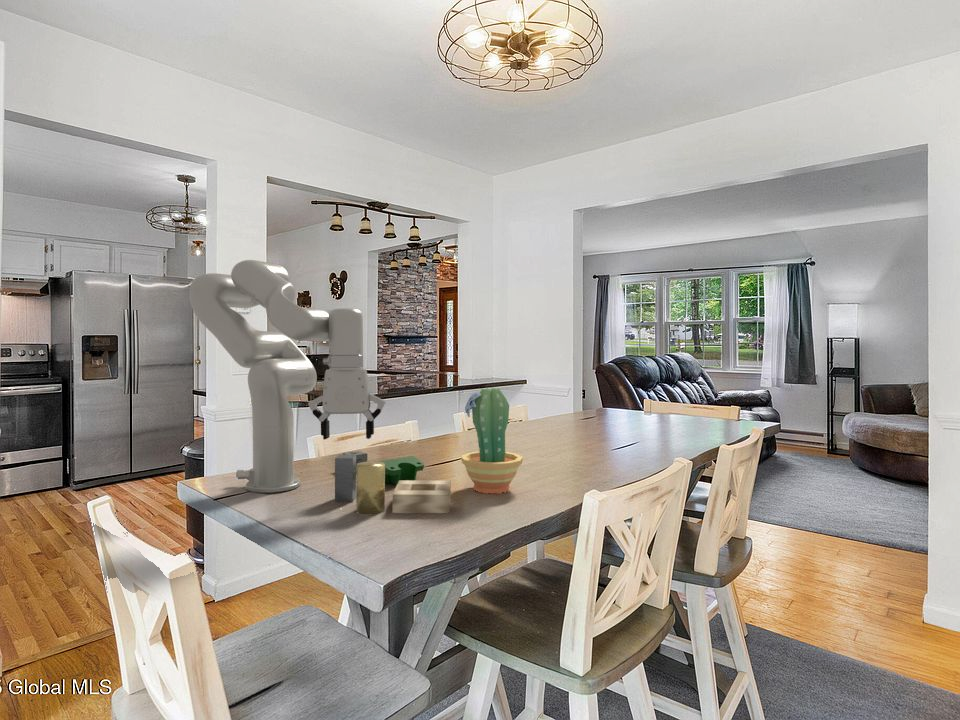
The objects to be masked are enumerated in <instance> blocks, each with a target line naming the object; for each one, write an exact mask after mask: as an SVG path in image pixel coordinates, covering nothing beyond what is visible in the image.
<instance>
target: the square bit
mask: <svg viewBox="0 0 960 720" xmlns="http://www.w3.org/2000/svg"><path fill="white" fill-rule="evenodd" d="M356 486H357V473H356V455H343V454H338V455H336V457H334V503H353V502H354V501H355V500H354V499H356Z"/></svg>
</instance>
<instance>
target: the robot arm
mask: <svg viewBox="0 0 960 720" xmlns="http://www.w3.org/2000/svg"><path fill="white" fill-rule="evenodd" d="M230 272H231V273H230V274H226V273H225V274H224V273H212V272H211V273H203V274H201V275H198V276H196V277H195V278H194V279H193V280H192V281H191V283H190V286H189V292H188V293H189V295H188V296H189V303H190V306H191V308H192V310H193V313H194V315H195V317H196V318H197V319H198V321H199V322H200V323H201V324H202V325H203V326H204V327H205V328H206V329H207V330H208V331H209V333H211V334H212V335H213V336H214V337H215V338H216V339H217V341H218V342H219V344H221V346H222V347H223V348H224V350H225V351H226V352H227V353H228V355H229V356H230V357H231V358H232V359H233V360H234V362H236V364H237V365H239V366H240V367H242V368H245V369H249V371H248V374H247V385H248V386H247V387H248V390H249V394H250V399H251V400H250V401H251V413H252V421H251V422H252V423H251V424H252V468H250V469H249V470H247V469H237V470H236V473H235V477H236V478H237V479H238V480H247V481H248V482H246V484H245V489H246V490H247V491H248V492H252V493H260V494H261V493H262V494H265V493H266V494H268V493H269V494H271V493H281V492H286V491H290V490H294V489H296V488H298V487H299V486H301V480H300V479H299V478H298V477H296V476H294V475H295V474H294V469H295V468H294V460H295V459H294V453H295V451H294V439H295V438H294V437H295V436H294V435H295V434H294V430H295V429H294V428H295V427H294V411H293V409H292V406H291V403H289V400H288V397H291V396H299V395H300V396H301V395H305V394H308V393H309V392H311V391H313V389H314V388H315V386H316V384H317V379H318V375H317V371H316V368H315V366H314V364H313V363H312V362H311V360H310V359H309V358H308V357H307V355H306V354H304V352H302V350H301V349H300V347H298V346H297V345H296V343H295V342H294V341H299V342H328V357H326V358H325V357H324V358H323V359H322V364H323V365H327V366H328V368H329V369H328V368H327V369H326V370H325V372H324V380H323V388H322V394H321V395H320V396H318V397H316V398H314V399H313V400H311V401H309V402H308V403H307V404H308V405H307V406H308V407H309V409H310V410H311V412H312V415H314V417H316V419H317V420H318V421H319V422H320V435H321V436H322V438H323V440H327V439H329V438H330V420H329V417H330V416H331V415H340V414H341V415H345V414H346V415H347V414H348V415H353V414H363V416H364V417H366V419H367V420H366V421H365V439H367V440H370V439H371V438H372V436H373V435H374V434H375V422H374V421H375V419H376V418H377V417H378V416H379V415H380V414H381V413H382V412H383V409H384V407H385V405H386V400H384V399H382V398H380V397H378V396H377V395H374V394H373V393H371V392H370V382H369V375H368V371H367V368H364V322H363V320H364V319H363V317H364V316H363V313H362V311H361V310H359V309H357V308H347V307H346V308H334V309H327V308H326V309H325V308H312V307H303V306H299V305H298V304H297V303H295V302H294V300H295V298H296V289H295V287H294V286H293V284H292V283H291V282H290V275H289V273H288V271H287V270H286V269H285V268H284V267H283V265H280V264H277V263H275V262H274V263H273V262H268V261H266V262H265V261H261V260H254V259H246V260H241V261H239V262H237V263H236V264H235V265H234V266H233V268H231V271H230ZM256 306H261V307H263V308H264V309H265V312H266V316H267V318H268V321H269V322H270V324H271V325H272V326H273V327H274V328H275V329H277V330H278V331H274V330H273V331H272V330H271V331H270V330H269V331H268V330H258V329H256V328H255V327H253V326H252V325H251V324H250V322H248V321H247V319H246V318H245V317H244V316H243V315H241V314H240V313H239V312H237V311H236V310H234V309H233V308H235V309H250V308H254V307H256ZM293 340H294V341H293ZM371 402H373V403H374V404H377V407H376V409H375V410H374V411H371V409H370V407H371ZM319 403H322V411H323V412H322V411H321V410H320V409H319V408H318V404H319Z"/></svg>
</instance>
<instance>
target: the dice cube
mask: <svg viewBox="0 0 960 720" xmlns="http://www.w3.org/2000/svg"><path fill="white" fill-rule="evenodd" d="M342 455H356V472H357V464H358V463H361V462H368V452H364V451H362V450H361V451H360V450H354V451H347V452H342Z"/></svg>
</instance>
